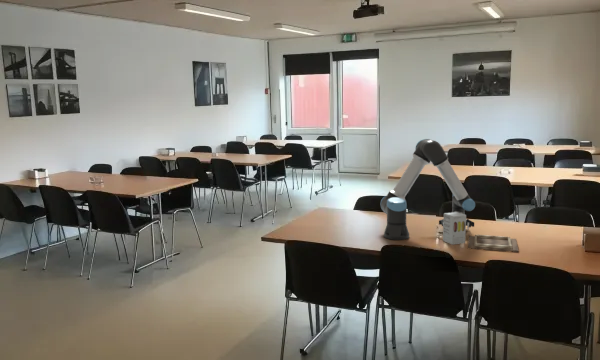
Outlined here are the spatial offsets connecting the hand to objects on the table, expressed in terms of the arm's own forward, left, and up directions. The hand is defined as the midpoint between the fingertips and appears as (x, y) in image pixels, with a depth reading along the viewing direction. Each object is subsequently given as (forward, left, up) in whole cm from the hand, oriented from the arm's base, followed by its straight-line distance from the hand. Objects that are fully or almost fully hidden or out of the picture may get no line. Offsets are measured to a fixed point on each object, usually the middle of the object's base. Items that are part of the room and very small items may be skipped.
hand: (455, 226), depth 297 cm
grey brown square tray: (+20, -1, -9) cm, 22 cm away
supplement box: (-1, -1, -9) cm, 9 cm away
